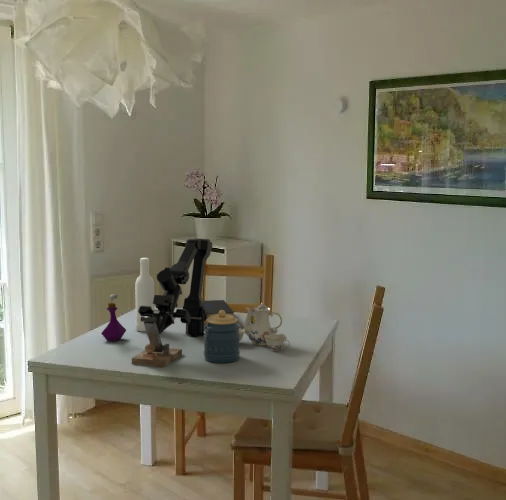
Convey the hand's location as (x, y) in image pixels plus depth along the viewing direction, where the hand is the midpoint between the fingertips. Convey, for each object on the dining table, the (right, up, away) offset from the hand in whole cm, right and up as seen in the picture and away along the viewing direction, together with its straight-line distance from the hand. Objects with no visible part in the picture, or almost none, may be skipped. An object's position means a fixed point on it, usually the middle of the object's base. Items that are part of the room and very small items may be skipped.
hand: (157, 334), depth 234 cm
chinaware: (+36, -7, +22) cm, 42 cm away
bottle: (-11, -3, +41) cm, 43 cm away
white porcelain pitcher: (+32, -4, +43) cm, 53 cm away
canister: (+23, -9, +3) cm, 25 cm away
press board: (0, -9, +2) cm, 9 cm away
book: (+15, -2, +59) cm, 60 cm away
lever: (0, -6, +2) cm, 6 cm away
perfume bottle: (-21, -5, +25) cm, 33 cm away
